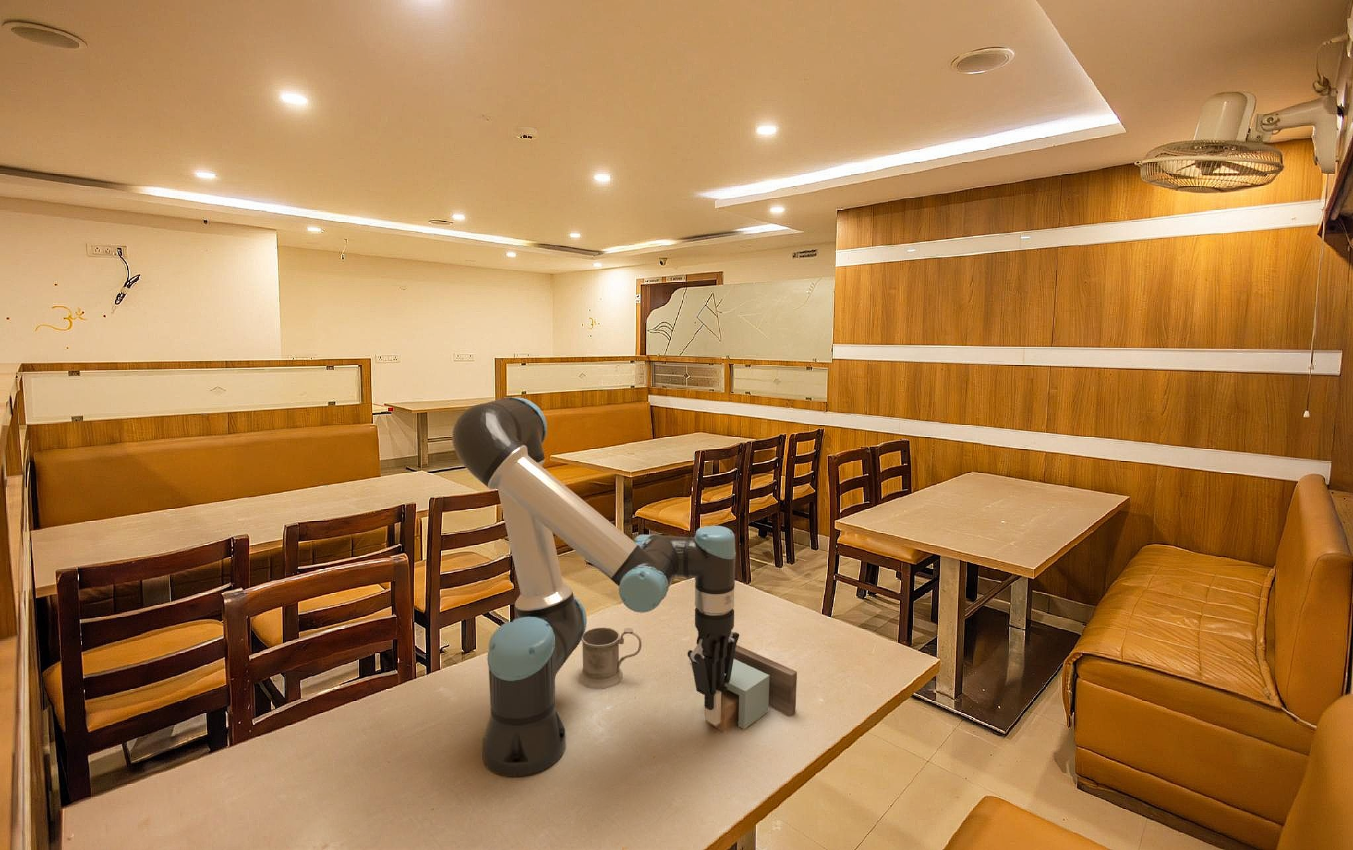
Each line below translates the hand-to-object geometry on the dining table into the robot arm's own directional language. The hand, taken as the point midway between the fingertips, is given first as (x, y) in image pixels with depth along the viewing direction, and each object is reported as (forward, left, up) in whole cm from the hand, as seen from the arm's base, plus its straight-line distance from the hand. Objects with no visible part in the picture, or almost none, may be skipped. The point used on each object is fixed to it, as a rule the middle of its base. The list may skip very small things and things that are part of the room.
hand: (713, 721), depth 124 cm
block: (+8, 0, -2) cm, 8 cm away
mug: (-2, +28, -2) cm, 28 cm away
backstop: (+15, 0, -2) cm, 15 cm away
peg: (+5, 0, -2) cm, 5 cm away
